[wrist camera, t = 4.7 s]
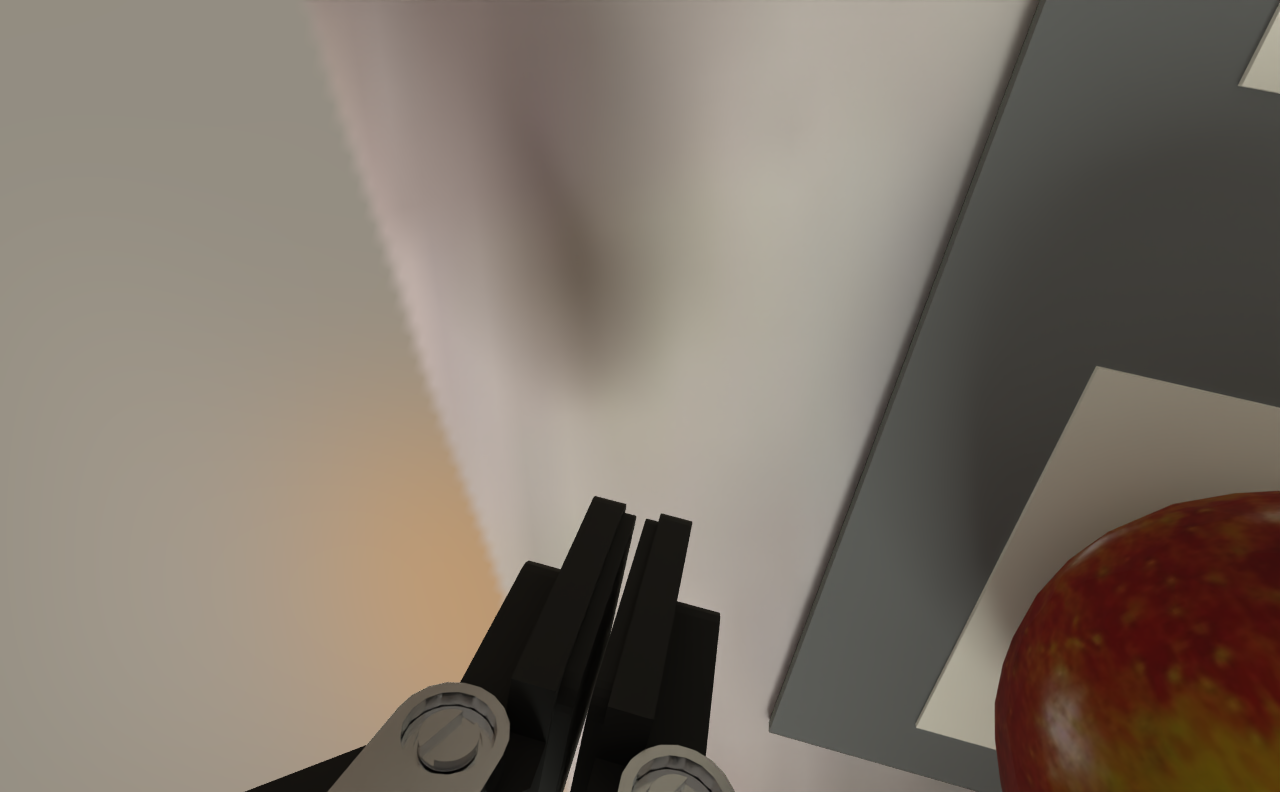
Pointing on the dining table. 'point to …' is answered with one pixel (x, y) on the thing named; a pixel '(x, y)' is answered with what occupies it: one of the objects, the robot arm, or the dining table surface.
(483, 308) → the dining table surface
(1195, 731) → the fruit
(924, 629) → the label mat
